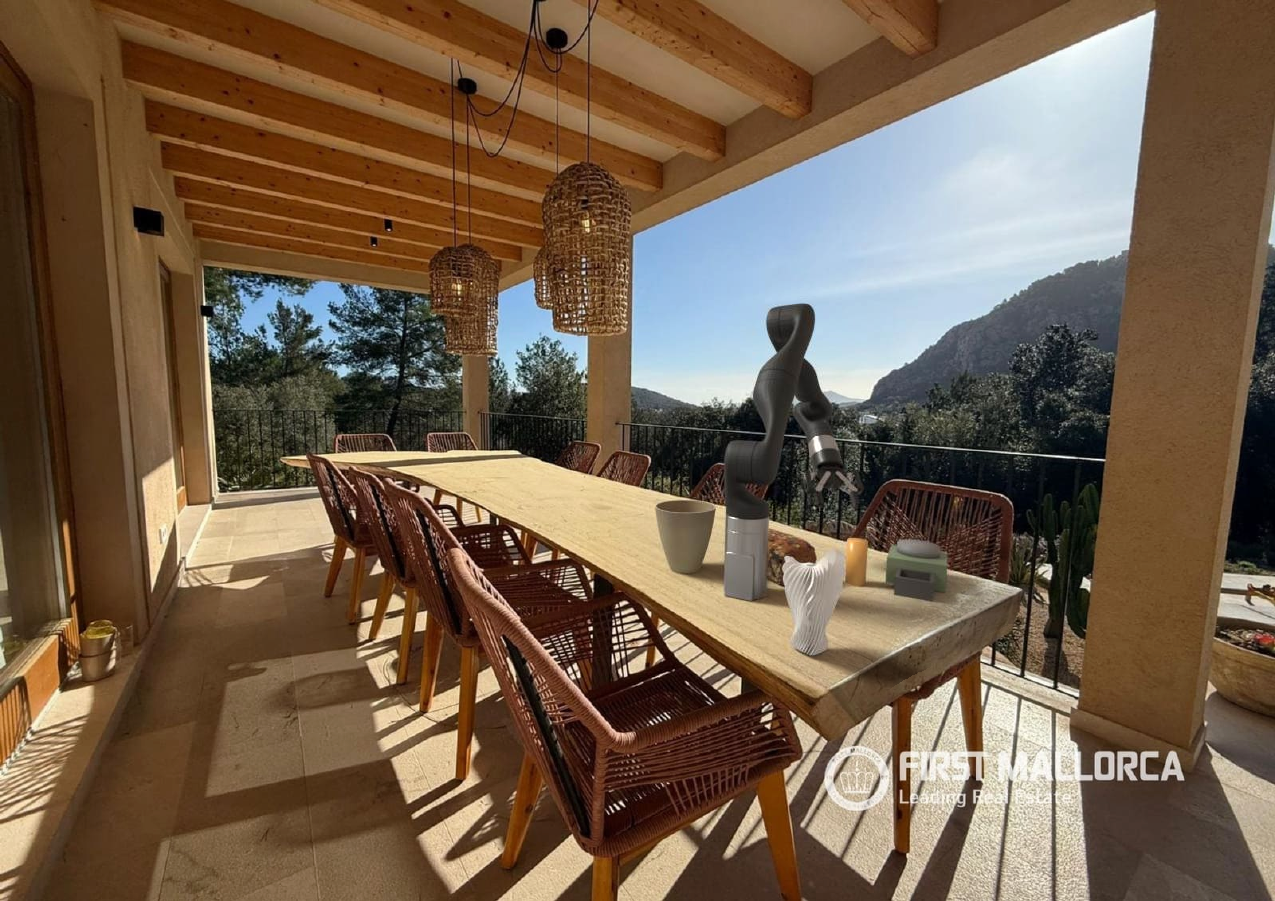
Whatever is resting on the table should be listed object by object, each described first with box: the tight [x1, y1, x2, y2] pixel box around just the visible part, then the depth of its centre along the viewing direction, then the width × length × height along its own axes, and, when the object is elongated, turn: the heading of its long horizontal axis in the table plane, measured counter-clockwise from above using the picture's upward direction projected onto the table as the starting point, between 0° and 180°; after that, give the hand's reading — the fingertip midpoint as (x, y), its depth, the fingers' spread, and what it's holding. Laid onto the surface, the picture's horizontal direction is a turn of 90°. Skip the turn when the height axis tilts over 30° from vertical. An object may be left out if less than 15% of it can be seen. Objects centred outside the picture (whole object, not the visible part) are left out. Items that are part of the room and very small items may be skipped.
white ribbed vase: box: [782, 548, 846, 656], centre depth 88 cm, size 8×8×18 cm
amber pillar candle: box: [844, 537, 869, 587], centre depth 120 cm, size 4×4×10 cm
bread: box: [767, 528, 818, 586], centre depth 128 cm, size 19×11×10 cm, turn 19°
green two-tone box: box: [885, 539, 948, 602], centre depth 120 cm, size 19×12×8 cm, turn 150°
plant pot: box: [654, 499, 717, 574], centre depth 129 cm, size 15×15×16 cm
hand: (839, 506), depth 131 cm, fingers open, 8 cm apart
